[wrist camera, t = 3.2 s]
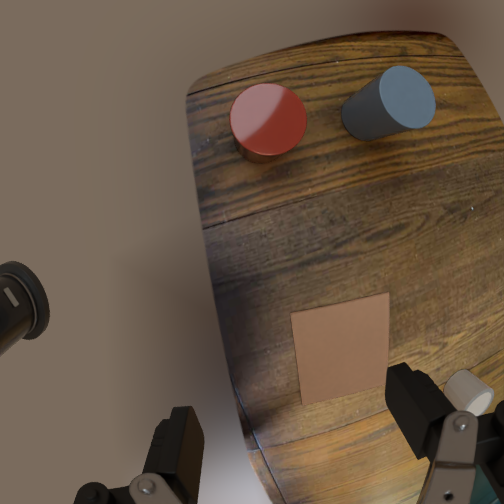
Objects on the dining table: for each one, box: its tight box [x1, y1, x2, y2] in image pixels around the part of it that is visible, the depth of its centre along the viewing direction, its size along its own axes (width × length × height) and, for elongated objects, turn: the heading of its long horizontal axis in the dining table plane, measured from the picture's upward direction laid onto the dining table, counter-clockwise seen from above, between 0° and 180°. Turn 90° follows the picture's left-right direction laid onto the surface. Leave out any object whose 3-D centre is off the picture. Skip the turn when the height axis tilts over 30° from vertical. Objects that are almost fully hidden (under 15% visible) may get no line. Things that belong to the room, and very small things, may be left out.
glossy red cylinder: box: [229, 83, 307, 164], centre depth 25 cm, size 5×5×10 cm
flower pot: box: [469, 464, 501, 504], centre depth 37 cm, size 18×18×17 cm
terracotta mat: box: [290, 292, 389, 405], centre depth 35 cm, size 12×14×1 cm
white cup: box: [443, 369, 494, 416], centre depth 35 cm, size 7×7×7 cm
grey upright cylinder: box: [341, 66, 435, 141], centre depth 24 cm, size 5×5×10 cm
